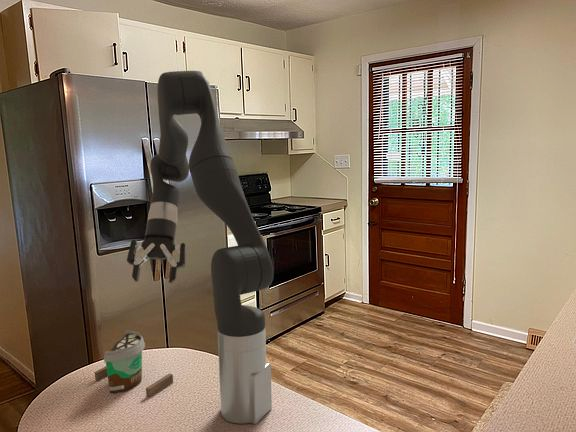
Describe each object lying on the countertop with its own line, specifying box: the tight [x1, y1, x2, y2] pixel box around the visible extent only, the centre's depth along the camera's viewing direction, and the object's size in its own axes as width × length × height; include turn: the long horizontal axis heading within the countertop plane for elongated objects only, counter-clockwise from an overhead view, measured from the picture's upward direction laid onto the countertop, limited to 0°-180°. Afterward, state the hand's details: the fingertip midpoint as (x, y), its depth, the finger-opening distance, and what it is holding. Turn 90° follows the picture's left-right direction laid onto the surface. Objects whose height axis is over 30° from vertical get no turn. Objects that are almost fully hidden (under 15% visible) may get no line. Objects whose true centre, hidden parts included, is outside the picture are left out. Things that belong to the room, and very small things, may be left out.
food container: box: [103, 330, 146, 395], centre depth 98 cm, size 12×6×10 cm, turn 179°
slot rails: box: [94, 365, 174, 399], centre depth 99 cm, size 17×7×2 cm, turn 62°
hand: (153, 281), depth 111 cm, fingers open, 8 cm apart
